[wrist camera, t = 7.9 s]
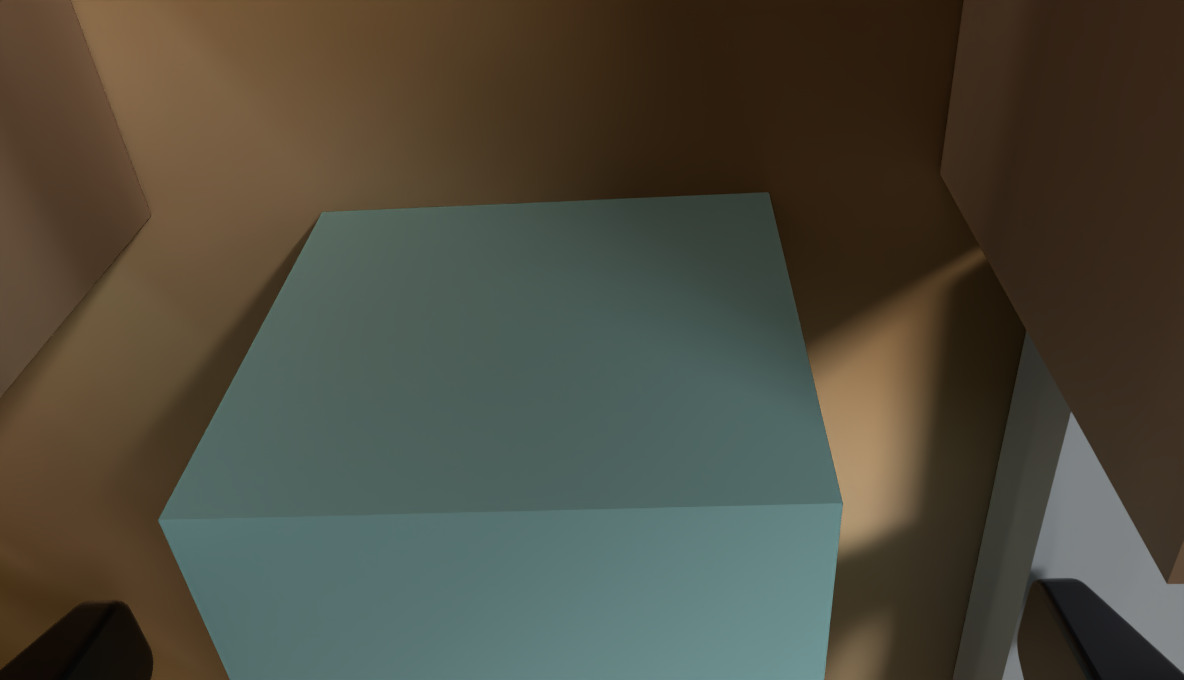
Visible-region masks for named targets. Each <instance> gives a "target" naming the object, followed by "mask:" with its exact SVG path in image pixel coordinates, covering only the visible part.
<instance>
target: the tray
mask: <svg viewBox="0 0 1184 680" xmlns="http://www.w3.org/2000/svg"><path fill="white" fill-rule="evenodd" d="M1046 578H1074V579H1078V580H1080V581H1082V582H1083V583H1085V584H1086V585H1087V586H1088V587H1089V588H1091V589H1092V590H1093V591H1094V592H1095V593H1096V594H1097V595H1098V596H1099V597H1100V598H1102V599H1103V600H1104V601H1105V602H1106V603H1107V604H1108V605H1109V606H1110V607H1111V608H1113V609H1114V610H1115V611H1116V612H1117V613H1118V614H1119V615H1120V616H1121V617H1122V618H1124V619H1125V620H1126V621H1127V622H1128V623H1129V624H1130V625H1131V626H1132V627H1133V628H1134V629H1136V630H1137V631H1138V632H1139V633H1140V634H1141V635H1142V636H1143V637H1144V638H1145V639H1147V640H1148V641H1149V642H1150V643H1151V644H1152V645H1153V646H1154V647H1155V648H1156V649H1158V650H1159V651H1160V652H1161V653H1162V654H1163V655H1164V656H1165V657H1166V658H1167V659H1169V660H1170V661H1171V662H1172V663H1173V664H1174V665H1175V666H1176V667H1177V668H1178V669H1179V670H1181V671H1182V672H1183V673H1184V584H1167V583H1166V582H1165V580H1164V578H1163V576H1162V574H1161V573H1160V571H1159V569H1158V567H1157V565H1156V564H1155V562H1154V560H1153V558H1152V556H1151V554H1150V553H1149V551H1148V549H1147V547H1146V545H1145V544H1144V542H1143V540H1142V538H1141V536H1140V535H1139V533H1138V531H1137V529H1136V527H1135V526H1134V524H1133V522H1132V520H1131V518H1130V517H1129V515H1128V513H1127V511H1126V509H1125V507H1124V506H1123V504H1122V502H1121V500H1120V498H1119V497H1118V495H1117V493H1116V491H1115V489H1114V488H1113V486H1112V484H1111V482H1110V480H1109V479H1108V477H1107V475H1106V473H1105V471H1104V470H1103V468H1102V466H1101V464H1100V462H1099V461H1098V459H1097V457H1096V455H1095V453H1094V451H1093V450H1092V448H1091V446H1090V444H1089V442H1088V441H1087V439H1086V437H1085V435H1084V433H1083V432H1082V430H1081V428H1080V426H1079V424H1078V423H1077V421H1076V419H1075V417H1074V415H1073V414H1072V412H1071V410H1070V408H1069V406H1068V404H1067V403H1066V401H1065V399H1064V397H1063V395H1062V394H1061V392H1060V390H1059V388H1058V386H1057V385H1056V383H1055V381H1054V379H1053V377H1052V376H1051V374H1050V372H1049V370H1048V368H1047V367H1046V365H1045V363H1044V361H1043V359H1042V358H1041V356H1040V354H1039V352H1038V350H1037V348H1036V347H1035V345H1034V343H1033V341H1032V339H1031V338H1030V336H1029V334H1028V332H1027V330H1026V335H1025V339H1024V344H1023V349H1022V353H1021V358H1020V363H1019V368H1018V372H1017V377H1016V382H1015V387H1014V391H1013V396H1012V401H1011V405H1010V410H1009V415H1008V420H1007V424H1006V429H1005V434H1004V439H1003V443H1002V448H1001V453H1000V457H999V462H998V467H997V472H996V476H995V481H994V486H993V491H992V495H991V500H990V505H989V509H988V514H987V519H986V524H985V528H984V533H983V538H982V543H981V547H980V552H979V557H978V561H977V566H976V571H975V576H974V580H973V585H972V590H971V595H970V599H969V604H968V609H967V613H966V618H965V623H964V628H963V632H962V637H961V642H960V647H959V651H958V656H957V661H956V665H955V670H954V675H953V680H1024V678H1023V674H1022V670H1021V666H1020V661H1019V656H1018V649H1017V635H1018V630H1019V626H1020V622H1021V618H1022V614H1023V610H1024V607H1025V603H1026V599H1027V595H1028V591H1029V588H1030V586H1031V584H1032V583H1033V582H1034V581H1035V580H1037V579H1046Z"/></svg>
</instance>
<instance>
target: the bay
mask: <svg viewBox="0 0 1184 680" xmlns="http://www.w3.org/2000/svg"><path fill="white" fill-rule="evenodd" d="M940 175H941V177H942V179H943V180H944V182H945V184H946V186H947V188H948V189H949V191H950V193H951V195H952V197H953V198H954V200H955V202H956V204H957V206H958V208H959V209H960V211H961V213H962V215H963V217H964V218H965V220H966V222H967V224H968V226H969V227H970V229H971V231H972V233H973V235H974V236H975V238H976V240H977V242H978V244H979V245H980V247H981V249H982V251H983V253H984V255H985V256H986V258H987V260H988V262H989V264H990V265H991V267H992V269H993V271H994V273H995V274H996V276H997V278H998V280H999V282H1000V283H1001V285H1002V287H1003V289H1004V291H1005V292H1006V294H1007V296H1008V298H1009V300H1010V301H1011V303H1012V305H1013V307H1014V309H1015V311H1016V312H1017V314H1018V316H1019V318H1020V320H1021V321H1022V323H1023V325H1024V327H1025V329H1026V330H1027V332H1028V334H1029V336H1030V338H1031V339H1032V341H1033V343H1034V345H1035V347H1036V348H1037V350H1038V352H1039V354H1040V356H1041V358H1042V359H1043V361H1044V363H1045V365H1046V367H1047V368H1048V370H1049V372H1050V374H1051V376H1052V377H1053V379H1054V381H1055V383H1056V385H1057V386H1058V388H1059V390H1060V392H1061V394H1062V395H1063V397H1064V399H1065V401H1066V403H1067V404H1068V406H1069V408H1070V410H1071V412H1072V414H1073V415H1074V417H1075V419H1076V421H1077V423H1078V424H1079V426H1080V428H1081V430H1082V432H1083V433H1084V435H1085V437H1086V439H1087V441H1088V442H1089V444H1090V446H1091V448H1092V450H1093V451H1094V453H1095V455H1096V457H1097V459H1098V461H1099V462H1100V464H1101V466H1102V468H1103V470H1104V471H1105V473H1106V475H1107V477H1108V479H1109V480H1110V482H1111V484H1112V486H1113V488H1114V489H1115V491H1116V493H1117V495H1118V497H1119V498H1120V500H1121V502H1122V504H1123V506H1124V507H1125V509H1126V511H1127V513H1128V515H1129V517H1130V518H1131V520H1132V522H1133V524H1134V526H1135V527H1136V529H1137V531H1138V533H1139V535H1140V536H1141V538H1142V540H1143V542H1144V544H1145V545H1146V547H1147V549H1148V551H1149V553H1150V554H1151V556H1152V558H1153V560H1154V562H1155V564H1156V565H1157V567H1158V569H1159V571H1160V573H1161V574H1162V576H1163V578H1164V580H1165V582H1166V583H1167V584H1184V0H964V1H963V9H962V16H961V24H960V31H959V38H958V46H957V53H956V60H955V68H954V75H953V82H952V90H951V97H950V105H949V112H948V119H947V127H946V134H945V141H944V149H943V156H942V163H941V171H940ZM150 216H151V214H150V211H149V209H148V206H147V203H146V201H145V198H144V195H143V192H142V190H141V187H140V184H139V182H138V179H137V176H136V174H135V171H134V168H133V166H132V163H131V160H130V158H129V155H128V152H127V150H126V147H125V144H124V142H123V139H122V136H121V134H120V131H119V128H118V126H117V123H116V120H115V118H114V115H113V112H112V110H111V107H110V104H109V102H108V99H107V96H106V94H105V91H104V88H103V86H102V83H101V80H100V78H99V75H98V72H97V70H96V67H95V64H94V62H93V59H92V56H91V54H90V51H89V48H88V46H87V43H86V40H85V38H84V35H83V32H82V30H81V27H80V24H79V22H78V19H77V16H76V13H75V11H74V8H73V5H72V3H71V0H0V397H1V396H2V395H3V394H4V393H5V391H6V390H7V389H8V388H9V387H10V385H11V384H12V383H13V382H14V381H15V379H16V378H17V377H18V376H19V374H20V373H21V372H22V371H23V370H24V368H25V367H26V366H27V365H28V364H29V362H30V361H31V360H32V359H33V358H34V356H35V355H36V354H37V353H38V352H39V350H40V349H41V348H42V347H43V346H44V344H45V343H46V342H47V341H48V339H49V338H50V337H51V336H52V335H53V333H54V332H55V331H56V330H57V329H58V327H59V326H60V325H61V324H62V323H63V321H64V320H65V319H66V318H67V317H68V315H69V314H70V313H71V312H72V311H73V309H74V308H75V307H76V306H77V305H78V303H79V302H80V301H81V300H82V298H83V297H84V296H85V295H86V294H87V292H88V291H89V290H90V289H91V288H92V286H93V285H94V284H95V283H96V282H97V280H98V279H99V278H100V277H101V276H102V274H103V273H104V272H105V271H106V270H107V268H108V267H109V266H110V265H111V263H112V262H113V261H114V260H115V259H116V257H117V256H118V255H119V254H120V253H121V251H122V250H123V249H124V248H125V247H126V245H127V244H128V243H129V242H130V241H131V239H132V238H133V237H134V236H135V235H136V233H137V232H138V231H139V230H140V228H141V227H142V226H143V225H144V224H145V222H146V221H147V220H148V219H149V218H150Z"/></svg>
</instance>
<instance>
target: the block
mask: <svg viewBox="0 0 1184 680" xmlns="http://www.w3.org/2000/svg"><path fill="white" fill-rule="evenodd" d="M842 506H843V502H842V498H841V493H840V489H839V485H838V481H837V477H836V472H835V468H834V464H833V460H832V456H831V451H830V447H829V443H828V439H827V435H826V430H825V426H824V422H823V418H822V414H821V409H820V405H819V401H818V397H817V393H816V388H815V384H814V380H813V376H812V372H811V367H810V363H809V359H808V355H807V351H806V346H805V342H804V338H803V334H802V330H801V325H800V321H799V317H798V313H797V309H796V304H795V300H794V296H793V292H792V288H791V283H790V279H789V275H788V271H787V267H786V262H785V258H784V254H783V250H782V246H781V241H780V237H779V233H778V229H777V225H776V220H775V216H774V212H773V208H772V204H771V199H770V195H769V192H762V193H739V194H716V195H694V196H671V197H648V198H626V199H603V200H581V201H558V202H535V203H513V204H490V205H468V206H445V207H422V208H400V209H377V210H355V211H332V212H322V213H321V215H320V217H319V219H318V221H317V223H316V225H315V226H314V228H313V230H312V232H311V234H310V236H309V238H308V240H307V241H306V243H305V245H304V247H303V249H302V251H301V253H300V255H299V256H298V258H297V260H296V262H295V264H294V266H293V268H292V270H291V271H290V273H289V275H288V277H287V279H286V281H285V283H284V285H283V286H282V288H281V290H280V292H279V294H278V296H277V298H276V300H275V301H274V303H273V305H272V307H271V309H270V311H269V313H268V315H267V316H266V318H265V320H264V322H263V324H262V326H261V328H260V330H259V332H258V333H257V335H256V337H255V339H254V341H253V343H252V345H251V347H250V348H249V350H248V352H247V354H246V356H245V358H244V360H243V362H242V363H241V365H240V367H239V369H238V371H237V373H236V375H235V377H234V378H233V380H232V382H231V384H230V386H229V388H228V390H227V392H226V393H225V395H224V397H223V399H222V401H221V403H220V405H219V407H218V408H217V410H216V412H215V414H214V416H213V418H212V420H211V422H210V423H209V425H208V427H207V429H206V431H205V433H204V435H203V437H202V438H201V440H200V442H199V444H198V446H197V448H196V450H195V452H194V453H193V455H192V457H191V459H190V461H189V463H188V465H187V467H186V468H185V470H184V472H183V474H182V476H181V478H180V480H179V482H178V483H177V485H176V487H175V489H174V491H173V493H172V495H171V497H170V498H169V500H168V502H167V504H166V506H165V508H164V510H163V512H162V514H161V515H160V517H159V519H158V521H159V523H160V526H161V528H162V530H163V532H164V534H165V537H166V539H167V541H168V543H169V546H170V548H171V550H172V552H173V554H174V557H175V559H176V561H177V563H178V566H179V568H180V570H181V572H182V574H183V577H184V579H185V581H186V583H187V585H188V588H189V590H190V592H191V594H192V597H193V599H194V601H195V603H196V605H197V608H198V610H199V612H200V614H201V617H202V619H203V621H204V623H205V625H206V628H207V630H208V632H209V634H210V637H211V639H212V641H213V643H214V645H215V648H216V650H217V652H218V654H219V656H220V659H221V661H222V663H223V665H224V668H225V670H226V672H227V674H228V676H229V679H230V680H824V676H825V666H826V657H827V648H828V638H829V629H830V619H831V610H832V601H833V591H834V582H835V572H836V563H837V554H838V544H839V535H840V525H841V516H842Z"/></svg>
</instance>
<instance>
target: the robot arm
mask: <svg viewBox="0 0 1184 680" xmlns="http://www.w3.org/2000/svg"><path fill="white" fill-rule="evenodd" d="M1017 649H1018V656H1019V661H1020V666H1021V670H1022V674H1023V678H1024V680H1184V673H1183V672H1182V671H1181V670H1179V669H1178V668H1177V667H1176V666H1175V665H1174V664H1173V663H1172V662H1171V661H1170V660H1169V659H1167V658H1166V657H1165V656H1164V655H1163V654H1162V653H1161V652H1160V651H1159V650H1158V649H1156V648H1155V647H1154V646H1153V645H1152V644H1151V643H1150V642H1149V641H1148V640H1147V639H1145V638H1144V637H1143V636H1142V635H1141V634H1140V633H1139V632H1138V631H1137V630H1136V629H1134V628H1133V627H1132V626H1131V625H1130V624H1129V623H1128V622H1127V621H1126V620H1125V619H1124V618H1122V617H1121V616H1120V615H1119V614H1118V613H1117V612H1116V611H1115V610H1114V609H1113V608H1111V607H1110V606H1109V605H1108V604H1107V603H1106V602H1105V601H1104V600H1103V599H1102V598H1100V597H1099V596H1098V595H1097V594H1096V593H1095V592H1094V591H1093V590H1092V589H1091V588H1089V587H1088V586H1087V585H1086V584H1085V583H1083V582H1082V581H1080V580H1078V579H1074V578H1046V579H1037V580H1035V581H1034V582H1033V583H1032V584H1031V586H1030V588H1029V591H1028V595H1027V599H1026V603H1025V607H1024V610H1023V614H1022V618H1021V622H1020V626H1019V630H1018V635H1017ZM152 671H153V655H152V651H151V648H150V646H149V644H148V642H147V640H146V638H145V636H144V634H143V632H142V630H141V628H140V627H139V625H138V623H137V621H136V619H135V617H134V615H133V613H132V611H131V609H130V608H129V606H128V605H127V604H125V603H124V602H122V601H118V600H108V601H87V602H84V603H81V604H79V605H78V606H76V607H75V608H73V609H72V610H71V611H70V612H68V613H67V614H66V615H65V616H64V617H63V618H61V619H60V620H59V621H58V622H57V623H55V624H54V625H53V626H52V627H51V628H49V629H48V630H47V631H46V632H45V633H43V634H42V635H41V636H40V637H39V638H38V639H36V640H35V641H34V642H33V643H32V644H30V645H29V646H28V647H27V648H26V649H24V650H23V651H22V652H21V653H20V654H18V655H17V656H16V657H15V658H14V659H13V660H11V661H10V662H9V663H8V664H7V665H5V666H4V667H3V668H2V669H1V670H0V680H151V676H152Z"/></svg>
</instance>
